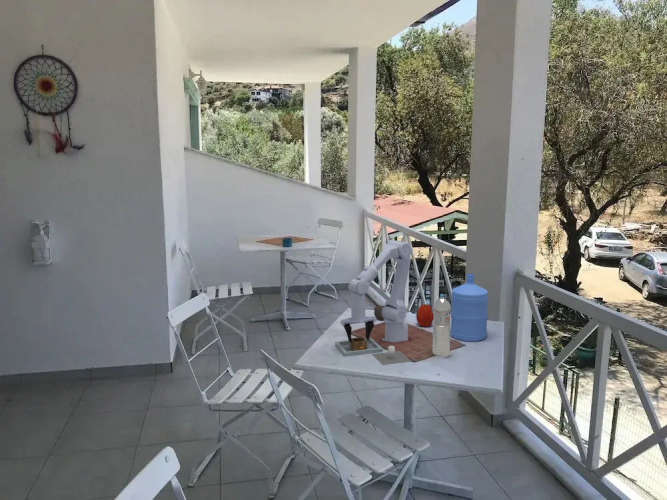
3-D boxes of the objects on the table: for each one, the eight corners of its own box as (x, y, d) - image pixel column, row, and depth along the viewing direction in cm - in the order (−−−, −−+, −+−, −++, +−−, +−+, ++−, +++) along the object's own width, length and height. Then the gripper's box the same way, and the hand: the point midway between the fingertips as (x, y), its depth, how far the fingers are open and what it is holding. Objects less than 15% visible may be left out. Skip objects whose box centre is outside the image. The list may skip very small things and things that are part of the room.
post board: (399, 353, 219) (399, 340, 218) (411, 363, 207) (411, 350, 206) (371, 356, 215) (371, 343, 214) (382, 367, 204) (382, 353, 203)
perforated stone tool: (405, 321, 262) (405, 307, 261) (401, 324, 258) (401, 310, 257) (377, 317, 270) (377, 303, 269) (373, 319, 265) (373, 306, 264)
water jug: (485, 343, 229) (488, 279, 224) (448, 340, 234) (449, 277, 229) (487, 332, 243) (489, 272, 239) (452, 329, 248) (453, 270, 244)
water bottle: (439, 359, 211) (440, 297, 207) (428, 354, 217) (429, 294, 213) (453, 356, 214) (454, 295, 210) (442, 351, 220) (443, 291, 216)
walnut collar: (362, 346, 225) (362, 336, 225) (368, 352, 218) (368, 342, 217) (350, 347, 224) (349, 338, 223) (355, 353, 217) (355, 344, 216)
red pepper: (423, 321, 261) (423, 300, 259) (437, 325, 255) (437, 303, 253) (412, 325, 255) (412, 303, 253) (426, 329, 249) (426, 306, 247)
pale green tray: (370, 343, 231) (370, 337, 230) (382, 354, 218) (382, 348, 217) (335, 347, 227) (335, 341, 226) (345, 358, 213) (344, 352, 213)
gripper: (344, 312, 213) (344, 345, 216) (378, 309, 217) (378, 341, 220) (339, 307, 220) (339, 339, 222) (372, 304, 224) (372, 335, 226)
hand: (358, 340), depth 221 cm, fingers open, 7 cm apart
